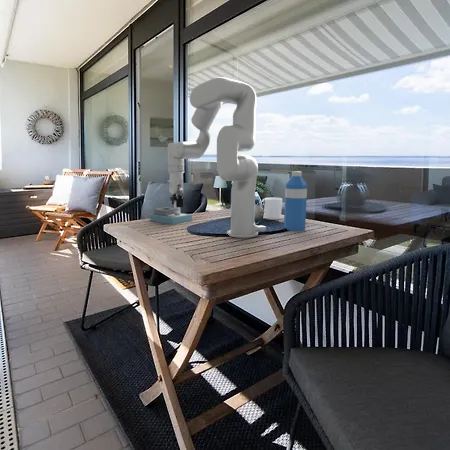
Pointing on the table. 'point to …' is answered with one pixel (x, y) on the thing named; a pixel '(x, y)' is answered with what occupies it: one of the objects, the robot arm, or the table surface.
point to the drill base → (163, 217)
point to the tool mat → (177, 215)
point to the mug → (273, 208)
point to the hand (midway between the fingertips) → (177, 205)
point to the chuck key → (176, 209)
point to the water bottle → (295, 202)
